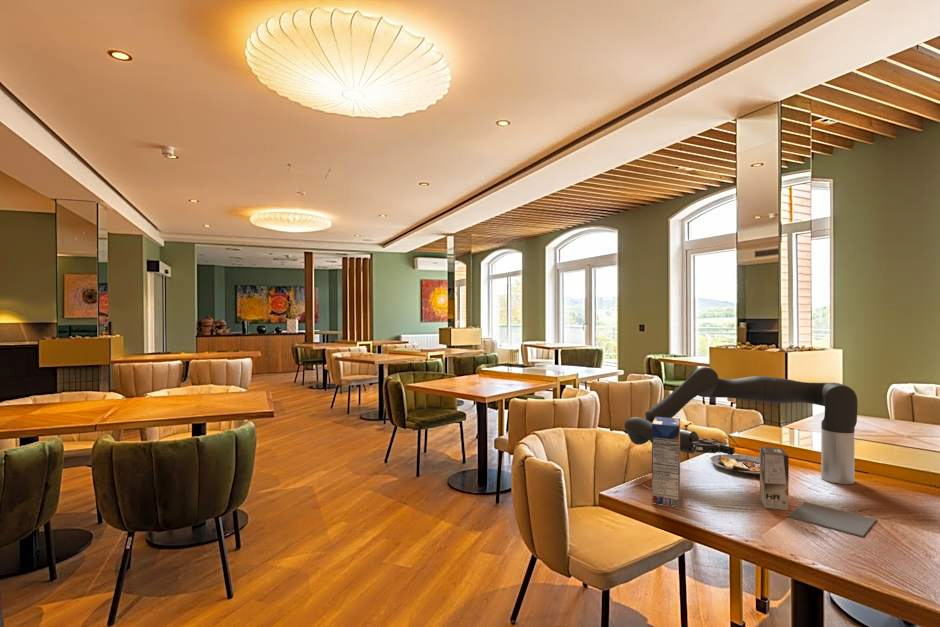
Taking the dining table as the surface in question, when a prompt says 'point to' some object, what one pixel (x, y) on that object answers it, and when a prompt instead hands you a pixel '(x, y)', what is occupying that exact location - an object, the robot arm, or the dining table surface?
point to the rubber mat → (833, 518)
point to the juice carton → (666, 461)
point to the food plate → (732, 463)
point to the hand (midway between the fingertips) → (733, 451)
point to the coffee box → (774, 478)
